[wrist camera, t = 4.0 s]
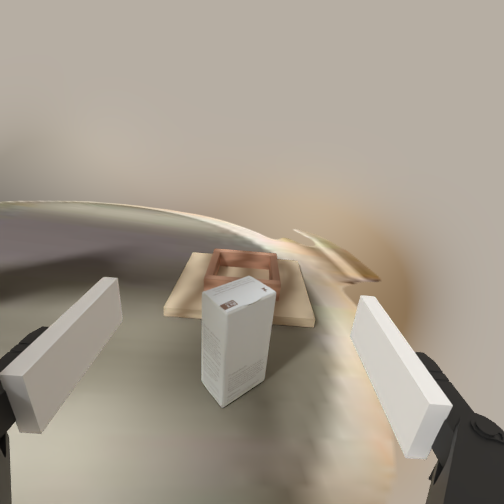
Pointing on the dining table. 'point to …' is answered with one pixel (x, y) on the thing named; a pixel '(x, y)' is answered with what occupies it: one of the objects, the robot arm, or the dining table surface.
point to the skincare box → (235, 337)
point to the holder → (236, 267)
